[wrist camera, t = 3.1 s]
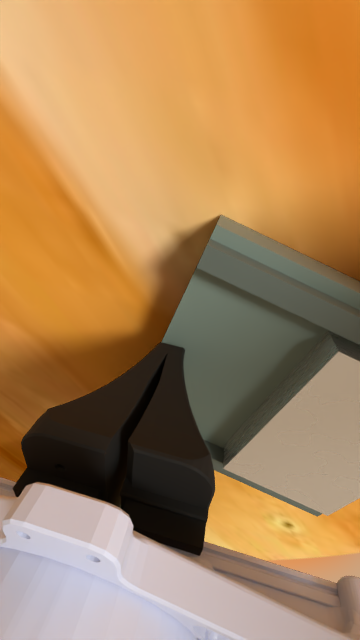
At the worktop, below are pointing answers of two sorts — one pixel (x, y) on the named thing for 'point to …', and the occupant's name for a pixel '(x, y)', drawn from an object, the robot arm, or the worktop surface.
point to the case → (253, 328)
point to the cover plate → (307, 431)
